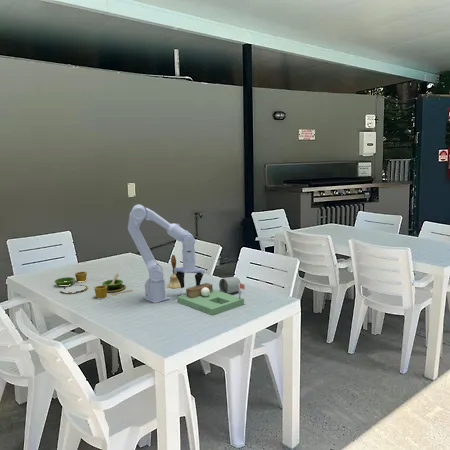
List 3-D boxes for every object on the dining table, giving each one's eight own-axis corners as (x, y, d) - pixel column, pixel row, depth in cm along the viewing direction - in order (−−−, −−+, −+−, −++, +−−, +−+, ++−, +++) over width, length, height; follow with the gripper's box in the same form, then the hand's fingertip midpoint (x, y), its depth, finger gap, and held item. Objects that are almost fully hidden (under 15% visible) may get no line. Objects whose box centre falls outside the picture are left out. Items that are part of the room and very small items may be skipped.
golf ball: (198, 293, 196) (200, 286, 194) (205, 291, 199) (207, 284, 197) (203, 299, 194) (205, 292, 192) (210, 297, 196) (212, 289, 195)
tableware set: (135, 292, 215) (134, 279, 214) (80, 305, 198) (79, 292, 197) (100, 276, 247) (99, 265, 246) (49, 286, 229) (48, 274, 228)
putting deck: (177, 302, 197) (176, 281, 195) (208, 292, 208) (207, 273, 207) (215, 316, 178) (214, 293, 176) (247, 305, 189) (246, 284, 188)
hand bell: (167, 289, 216) (165, 257, 214) (166, 284, 225) (164, 253, 222) (184, 287, 218) (182, 256, 216) (182, 283, 226) (181, 252, 224)
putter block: (186, 296, 196) (186, 288, 196) (207, 290, 204) (206, 282, 204) (191, 298, 193) (191, 290, 193) (212, 291, 201) (212, 284, 201)
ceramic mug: (242, 292, 207) (241, 276, 206) (228, 296, 202) (227, 280, 201) (228, 288, 216) (228, 272, 214) (215, 291, 211) (214, 275, 210)
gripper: (170, 260, 200) (172, 289, 202) (200, 262, 195) (201, 291, 197) (177, 257, 207) (178, 285, 209) (206, 258, 202) (207, 287, 204)
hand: (190, 288), depth 203 cm, fingers open, 7 cm apart
